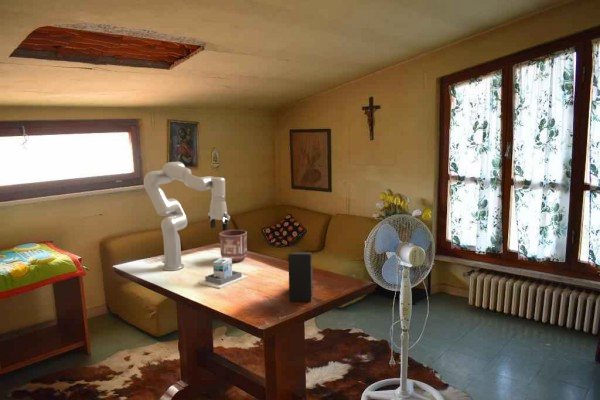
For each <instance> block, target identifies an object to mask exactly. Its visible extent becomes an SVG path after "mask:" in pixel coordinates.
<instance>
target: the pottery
mask: <svg viewBox="0 0 600 400" xmlns="http://www.w3.org/2000/svg"><path fill="white" fill-rule="evenodd" d="M218 235H219V243H220V245H219V246H220V256H221V257H224V258H232V264H235V263H240V262H242V261H244V260H245V258H247V255H248V244H247V243H248V241H247V239H248V231H246V230H243V229H229V230H228V229H227V230H224V231H223V230H222V231H221V232H219V233H218Z"/></svg>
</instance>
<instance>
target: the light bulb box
mask: <svg viewBox="0 0 600 400" xmlns="http://www.w3.org/2000/svg"><path fill="white" fill-rule="evenodd" d="M212 264H213V266H212V269H213V274H214V278H216V279H224V278H227V277H229V276H232V271H233V263H232V258H224V257H222V256H221V257H220V258H217V259H216V260H214V261H213V262H212Z"/></svg>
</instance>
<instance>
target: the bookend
mask: <svg viewBox="0 0 600 400" xmlns="http://www.w3.org/2000/svg"><path fill="white" fill-rule="evenodd" d="M287 259H288V260H287V262H288V300H289V302H312V297H313V291H314V290H312V289H314V281H313V280H314V279H313V265H312V264H313V263H312V262H313V261H312V252H295V251H294V252H293V253H288V258H287Z"/></svg>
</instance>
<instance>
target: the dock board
mask: <svg viewBox="0 0 600 400" xmlns="http://www.w3.org/2000/svg"><path fill="white" fill-rule="evenodd" d="M204 277H205V278H204V279H203V280H200V281H198V285H199V284H200V285H203V286H208V287H212V288H216V289H223V288H225V287H228V286H231V285H233V284H236V283H238V282H241V281H242V280H243V281H244V280H245V279H249V276H248V275H245V274H243V273H242V272H241V271H236V270H232V276H229V277H227V278H224V279H216V278H214V273H212V274H208V275H206V276H204Z"/></svg>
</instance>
